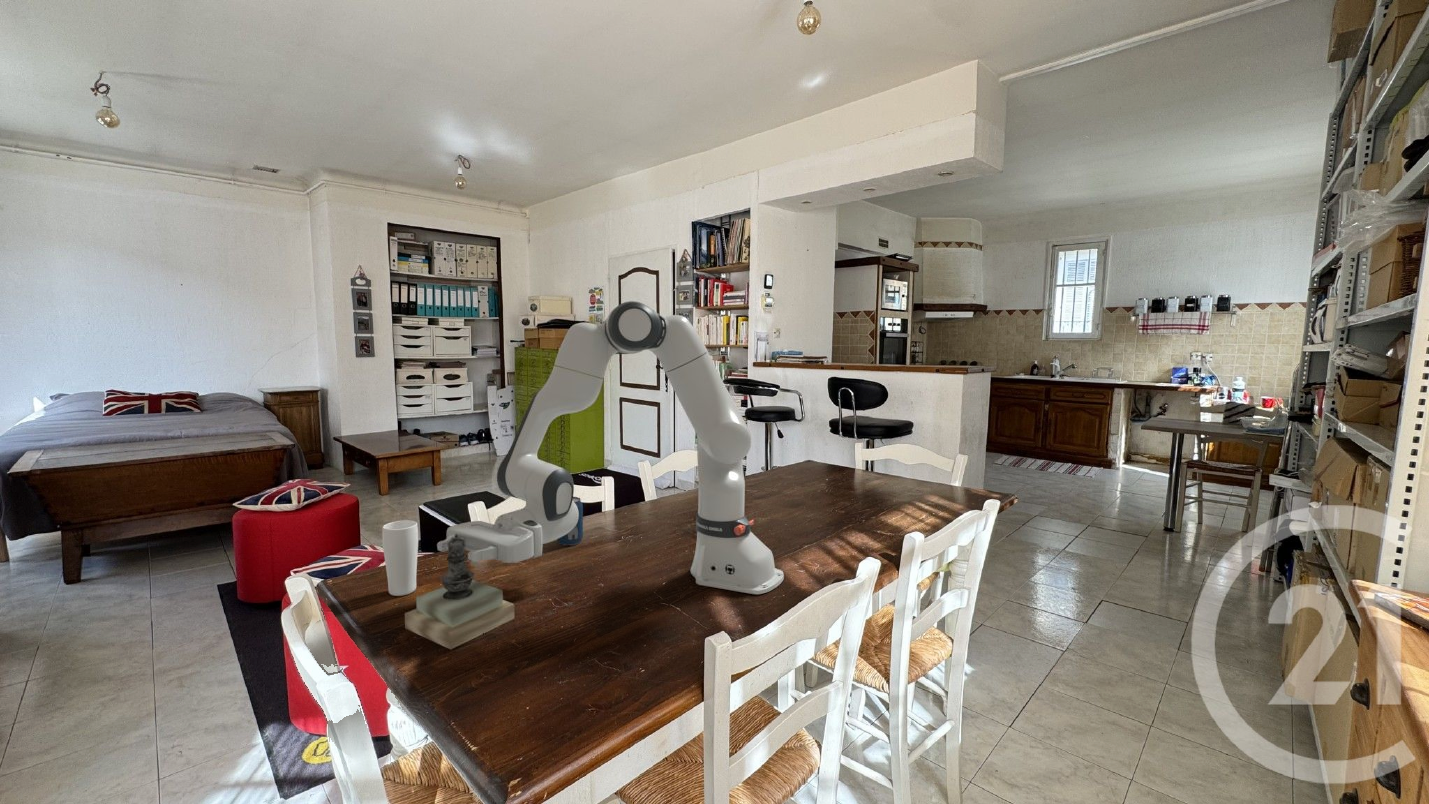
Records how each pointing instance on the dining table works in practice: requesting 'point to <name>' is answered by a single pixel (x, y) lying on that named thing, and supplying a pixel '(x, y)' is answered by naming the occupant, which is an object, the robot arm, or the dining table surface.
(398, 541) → the drinking glass
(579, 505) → the soda can
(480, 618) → the brick tower base
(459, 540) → the dark grey ornamental finial
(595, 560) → the dining table surface
